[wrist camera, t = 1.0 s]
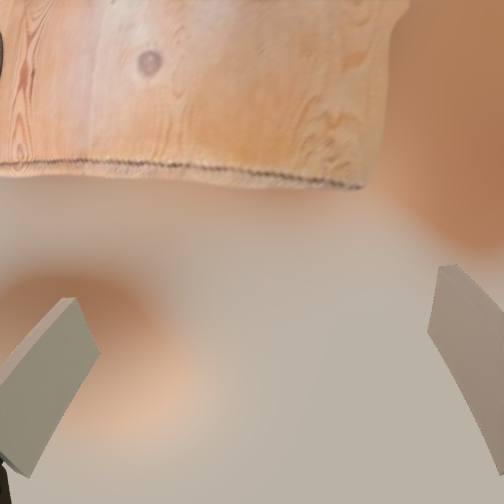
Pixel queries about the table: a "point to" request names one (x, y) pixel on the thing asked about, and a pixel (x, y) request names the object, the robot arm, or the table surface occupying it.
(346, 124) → the table surface
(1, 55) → the dial
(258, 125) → the table surface
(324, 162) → the table surface
